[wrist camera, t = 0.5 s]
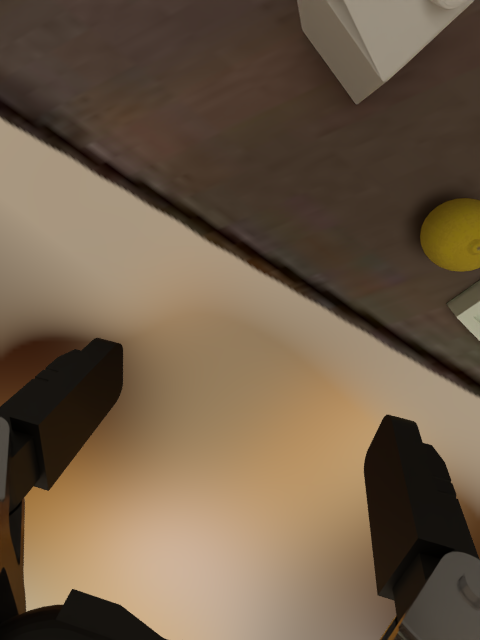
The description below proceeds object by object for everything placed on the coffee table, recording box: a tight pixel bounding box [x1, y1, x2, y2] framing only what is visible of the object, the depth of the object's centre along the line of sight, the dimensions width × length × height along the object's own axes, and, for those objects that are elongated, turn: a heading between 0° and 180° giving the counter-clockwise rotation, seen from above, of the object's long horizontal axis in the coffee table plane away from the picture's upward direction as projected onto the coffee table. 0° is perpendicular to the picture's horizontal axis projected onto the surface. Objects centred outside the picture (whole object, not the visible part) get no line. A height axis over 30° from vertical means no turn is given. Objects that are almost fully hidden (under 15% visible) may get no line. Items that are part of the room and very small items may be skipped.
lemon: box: [420, 198, 480, 272], centre depth 29 cm, size 6×6×8 cm
